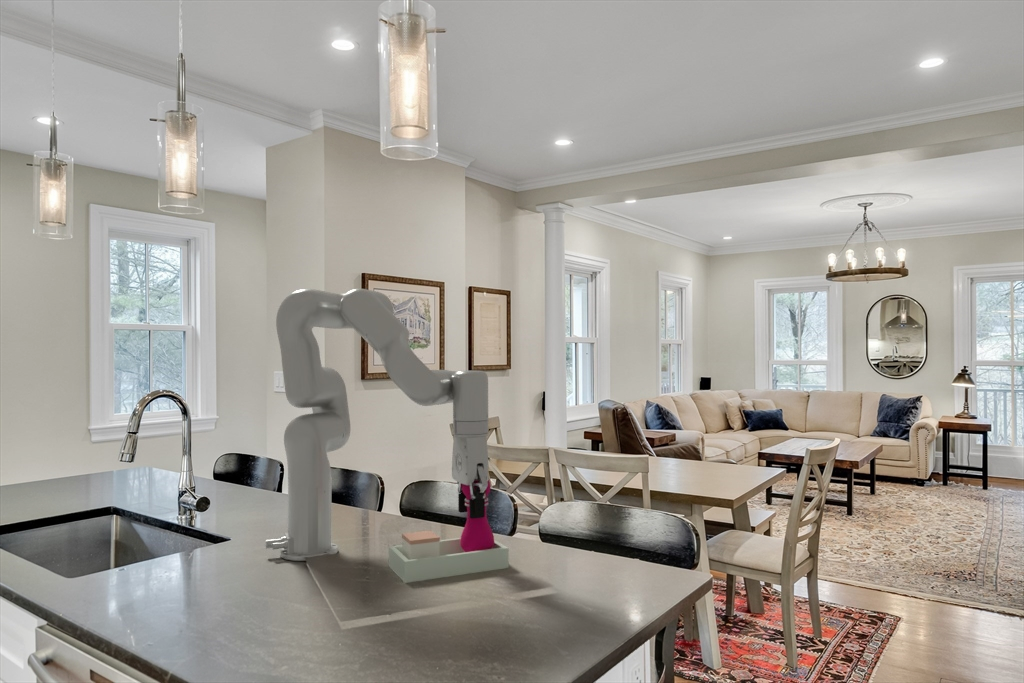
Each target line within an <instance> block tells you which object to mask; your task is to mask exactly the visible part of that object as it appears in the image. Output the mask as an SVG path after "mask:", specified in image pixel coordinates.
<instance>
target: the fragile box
mask: <svg viewBox="0 0 1024 683" xmlns="http://www.w3.org/2000/svg"><path fill="white" fill-rule="evenodd" d="M440 537H441V536H439V535H438V534H435V532H433V531H432V530H424V531H423V530H422V531H414V532H403V533H401V540H402V541H401V545H402V554H403V555H404V556H405V557H406V558H407V559H408V560H411V559H419V558H426V557H434V556H439V541H440V540H441V538H440Z"/></svg>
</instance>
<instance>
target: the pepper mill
mask: <svg viewBox="0 0 1024 683" xmlns="http://www.w3.org/2000/svg"><path fill="white" fill-rule="evenodd" d="M487 482H488V486H487V488H486V492H485V516H484V517H483V518H474V519H471V518H470V510H469V499H471V492H470V485H464V484H463V485H462V491H463V493H464V494H465V496H466V498H465V505H466V506H467V512H466V513H467V515H466V522H465V524H464V527H463V529H462V532H461V535H460V538H461V540H460V545H461V548H462V549H463V550H464V551H465V552H472V551H479V550H487V549H492V548H493V546H494V540H495V536H494V533H493V532H494V531H493V530H492V527H491V525H490V524H489V521H488V518H487V506H488V505H489V498H488V495H489V493H490V492H491V482H490V480H489V479H488V481H487ZM473 483H479V480H478V481H474V482H473ZM478 487H479V486H478ZM476 488H477V487H474V489H475V490H476Z"/></svg>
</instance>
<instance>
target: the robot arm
mask: <svg viewBox="0 0 1024 683" xmlns="http://www.w3.org/2000/svg"><path fill="white" fill-rule="evenodd" d="M278 307H279V308H278V310H277V313H276V318H275V324H276V325H275V326H276V333H277V338H278V343H279V349H280V355H281V356H280V357H281V367H282V376H283V384H284V391H285V396H286V400H287V401H288V403H289V404H290V405H291V406H292V407H295V408H299V409H310V408H311V409H312V413H305V414H302V415H299V416H297V417H295V418H293V419H291V421H290V422H289V423H287V426H286V428H285V429H284V434H283V444H284V450H285V455H286V456H285V457H286V460H287V461H286V462H287V463H286V464H287V532H285V533H284V536H280V538H277V539H276V538H275V539H274V538H271V539H269V538H268V539H265V549H266V550H267V549H272V550H278V549H280V551H279V556H280V557H281V558H282V559H284V560H288V561H295V562H305V561H307V560H306V558H313V557H320V556H327V555H335V554H337V553H338V551H339V545H338V544H336V543H334V542H332V487H333V486H332V469H331V464H330V460H329V458H328V454H327V453H331V452H335V451H338V450H339V449H341V448H343V447H344V446H345V445H346V444H347V443H348V442H349V439H350V436H351V418H350V409H349V403H348V393H347V388H346V383H345V381H344V378H343V377H342V376H341V374H340V373H339V372H338V370H335V369H334V368H332V367H328V366H322V361H321V354H320V353H321V352H320V347H319V346H320V345H319V343H318V341H317V338H316V336H315V335H314V333H313V329H314V328H324V329H335V330H336V329H353V330H355V331H356V332H357V334H358V335H359V336H361V337H362V339H364V341H365V342H366V343H367V344H368V345H369V346H370V347H371V348H372V349H373V351H374V352H376V354H377V355H378V356H379V357H380V360H381V363H382V365H383V367H384V370H385V372H386V373H387V375H388V376H389V379H391V381H392V382H393V383H394V384H395V385H396V386H397V387H398V388H399V389H400V390H401V391H402V392H403V394H405V395H406V396H407V397H408V398H409V399H410V400H411V401H413V402H414V403H415V404H417V405H419V406H423V407H429V406H430V407H431V406H436V405H445V404H452V419H453V420H452V436H453V443H452V461H451V478H452V479H453V480H454V481H455V482H456V483H457V485H458V487H457V494H458V497H457V499H458V500H457V501H458V504H457V505H458V506H457V508H458V512H459V513H460V514H461V513H467V506H466V505H465V498H466V496H465V494H464V493H463V491H462V485H463V484H464V485H470V492H471V499H469V510H470V518H471V519H474V518H483V517H484V516H485V492H486V488H487V486H488V482H487V481H488V480H489V451H488V440H487V437H489V436H490V434H489V427H490V426H489V377H488V376H489V375H488V374H487V373H486V371H483V370H459V371H455V370H448V369H430V367H428V366H427V365H426V364H425V363H423V361H422V360H421V359H420V358H419V357H418V356H417V355H416V354H415V352H414V351H413V350H412V348H411V347H410V345H409V344H410V343H409V337H410V330H409V329H408V327H407V326H405V324H403V323H402V321H400V320H399V318H397V317H396V315H395V314H394V306H393V303H392V301H391V299H390V298H389V297H388V296H387V295H386V294H384V293H382V292H379V291H377V290H370V289H366V288H354V289H351V290H349V291H347V292H346V293H335V292H330V291H324V290H320V289H313V288H305V289H304V288H303V289H302V288H301V289H298V290H295V291H293V292H291V293H289V294H288V295H287V296H286V297H285V298H284V299H283V300H282V302H281V304H280V305H279V306H278ZM478 480H479V483H473V482H474V481H478ZM478 486H479V487H478ZM474 487H477V488H476V490H475V489H474Z"/></svg>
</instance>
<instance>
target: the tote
mask: <svg viewBox="0 0 1024 683" xmlns="http://www.w3.org/2000/svg"><path fill="white" fill-rule="evenodd" d="M460 540H461V537H457V538H455V537H454V538H447V539H440V541H439V556H434V557H426V558H419V559H411V560H408V559H407V558H406V557H405V556H404V555H403V554H402V544H399V545H398V544H397V545H390V546H388V567H389V568H390V569H391V570H392V571H393V573H395V574H396V576H397V577H399V579H400V580H401V581H402V582H403V583H405V584H407V583H414V582H421V581H429V580H430V581H431V580H434V579H442V578H448V577H449V578H450V577H454V576H455V577H456V576H463V575H469V574H476V573H477V574H478V573H484V572H489V571H497V570H503V569H509V560H510V558H509V554H510V553H509V551H510V549H509V547H508V546H506V545H504V544H502V543H501V542H499V541H497V540H495V539H494V546H493V548H492V549H487V550H479V551H472V552H465V551H464V550H463V549H462V548H461V545H460Z"/></svg>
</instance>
